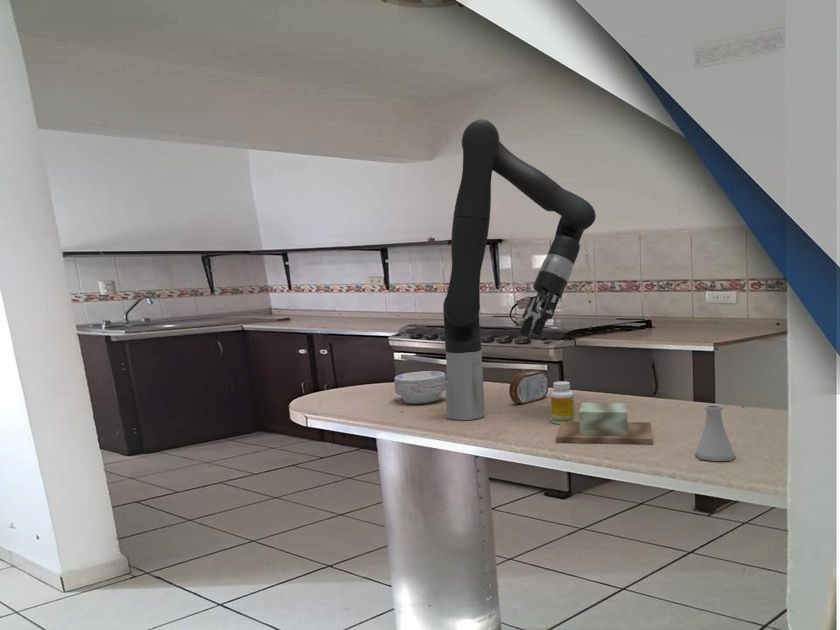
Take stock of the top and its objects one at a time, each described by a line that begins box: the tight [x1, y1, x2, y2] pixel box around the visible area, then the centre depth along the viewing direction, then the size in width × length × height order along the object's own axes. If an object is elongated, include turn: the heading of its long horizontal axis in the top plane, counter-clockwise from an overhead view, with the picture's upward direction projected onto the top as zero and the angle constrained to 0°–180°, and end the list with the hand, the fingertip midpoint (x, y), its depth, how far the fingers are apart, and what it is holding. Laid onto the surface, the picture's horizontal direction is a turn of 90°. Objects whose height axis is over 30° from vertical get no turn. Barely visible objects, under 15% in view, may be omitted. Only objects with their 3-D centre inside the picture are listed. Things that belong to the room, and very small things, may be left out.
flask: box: [694, 404, 736, 462], centre depth 135 cm, size 7×7×10 cm
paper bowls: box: [393, 370, 447, 405], centre depth 206 cm, size 15×15×8 cm
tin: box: [508, 369, 549, 405], centre depth 197 cm, size 15×3×8 cm, turn 133°
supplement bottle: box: [550, 380, 575, 425], centre depth 170 cm, size 5×5×10 cm
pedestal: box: [555, 402, 654, 445], centre depth 156 cm, size 20×15×6 cm
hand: (529, 335), depth 174 cm, fingers open, 8 cm apart
